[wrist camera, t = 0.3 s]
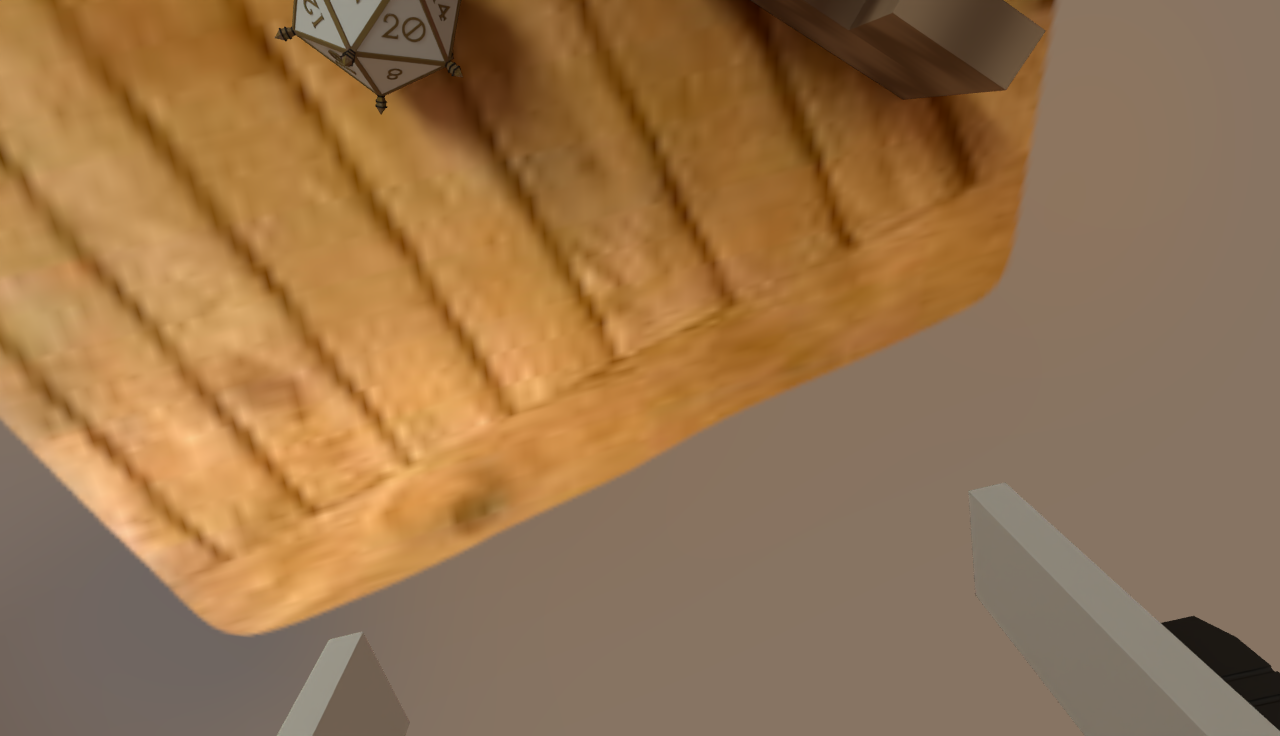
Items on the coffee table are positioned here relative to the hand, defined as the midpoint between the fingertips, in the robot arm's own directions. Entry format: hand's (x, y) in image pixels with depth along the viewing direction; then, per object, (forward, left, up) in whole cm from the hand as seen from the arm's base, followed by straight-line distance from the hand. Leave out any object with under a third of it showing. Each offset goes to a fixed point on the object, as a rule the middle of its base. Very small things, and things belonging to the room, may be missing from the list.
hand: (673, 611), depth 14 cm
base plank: (-13, +13, -27) cm, 33 cm away
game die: (-18, -7, -28) cm, 34 cm away
